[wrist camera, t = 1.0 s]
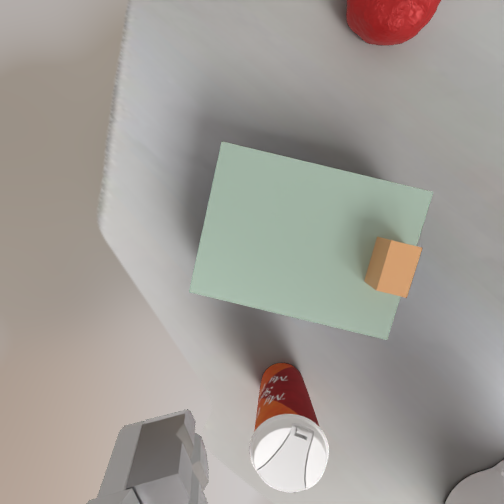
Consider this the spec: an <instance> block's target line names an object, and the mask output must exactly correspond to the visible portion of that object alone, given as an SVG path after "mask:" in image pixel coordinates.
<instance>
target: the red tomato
mask: <svg viewBox="0 0 504 504" xmlns="http://www.w3.org/2000/svg"><path fill="white" fill-rule="evenodd" d="M440 1H441V0H347V14H346V16H347V23H348V26H349V27H350V29H351V30H352V31H353V32H355V33H356V34H357V35H359V36H360V37H361V38H362V40H364V41H365V42H366V43H369V44H376V45H394V44H401V43H403V42H405V41H407V40H409V39H411V38H413V37H414V36H415V35H417V34H418V32H419V31H420V30H421V29H422V28H423V27H424V26H425V25H426V24H427V23H428V22H429V21H430V20H431V18H432V17H433V15H434V13H435V12H436V10H437V7H438V5H439V3H440Z"/></svg>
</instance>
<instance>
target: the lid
mask: <svg viewBox="0 0 504 504" xmlns="http://www.w3.org/2000/svg"><path fill="white" fill-rule="evenodd" d="M432 195H433V192H431V191H427V190H423V189H419V188H415V187H410V186H406V185H402V184H398V183H394V182H390V181H385V180H381V179H377V178H373V177H369V176H365V175H360V174H356V173H352V172H348V171H344V170H340V169H335V168H331V167H327V166H323V165H319V164H315V163H310V162H306V161H302V160H298V159H294V158H290V157H285V156H281V155H277V154H273V153H269V152H265V151H260V150H256V149H252V148H248V147H244V146H240V145H235V144H231V143H227V142H223V141H222V142H221V146H220V151H219V156H218V160H217V165H216V169H215V174H214V179H213V183H212V188H211V193H210V197H209V202H208V206H207V211H206V216H205V220H204V225H203V229H202V234H201V239H200V243H199V248H198V252H197V257H196V262H195V266H194V271H193V275H192V280H191V285H190V289H189V292H190V293H194V294H198V295H202V296H207V297H211V298H215V299H219V300H223V301H227V302H231V303H236V304H240V305H244V306H248V307H252V308H256V309H260V310H264V311H269V312H273V313H277V314H281V315H285V316H289V317H293V318H297V319H302V320H306V321H310V322H314V323H318V324H322V325H326V326H330V327H335V328H339V329H343V330H347V331H351V332H355V333H359V334H363V335H368V336H372V337H376V338H380V339H384V340H387V339H388V336H389V333H390V330H391V327H392V323H393V320H394V317H395V314H396V311H397V307H398V304H399V301H400V298H401V297H405V298H407V295H408V292H409V289H410V286H411V283H412V279H413V276H414V273H415V270H416V267H417V263H418V260H419V257H420V254H421V251H422V248H421V247H417V243H418V240H419V237H420V234H421V230H422V227H423V224H424V221H425V218H426V214H427V211H428V208H429V205H430V202H431V198H432Z"/></svg>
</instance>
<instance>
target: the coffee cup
mask: <svg viewBox="0 0 504 504" xmlns="http://www.w3.org/2000/svg"><path fill="white" fill-rule="evenodd" d="M249 454H250V459H251V462H252V465H253V466H254V468H255V470H256V471H257V473H258V474H259V476H260V477H261V479H262V480H263V481H264V482H265V483H266V484H267V485H268V486H270V487H272V488H274V489H276V490H279V491H282V492H298V491H303V490H306V489H309V488H310V487H312V486H314V485H315V484H316V483H317V482H318V481H319V480H320V478H321V477H322V475H323V473H324V471H325V468H326V464H327V461H328V457H329V445H328V441H327V438H326V436H325V434H324V432H323V431H322V429H321V428H320V427H319V424H318V421H317V418H316V415H315V412H314V409H313V406H312V403H311V400H310V397H309V394H308V392H307V389H306V386H305V383H304V380H303V378H302V376H301V374H300V372H299V371H298V370H297V369H296V368H295V367H294V366H292V365H290V364H287V363H277V364H274V365H272V366H270V367H269V368H268V369H267V370H266V371H265V372H264V374H263V376H262V380H261V386H260V392H259V400H258V407H257V415H256V423H255V431H254V433H253V435H252V438H251V441H250V446H249Z"/></svg>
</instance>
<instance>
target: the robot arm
mask: <svg viewBox="0 0 504 504" xmlns="http://www.w3.org/2000/svg"><path fill="white" fill-rule="evenodd" d="M208 470H209V469H208V461H207V454H206V449H205V445H204V442H203V440H202V437H201V436H200V435H198V434H196V433H195V420H194V418H193V415H192V413H191V411H190V410H188V409H187V410H183V411H179V412H175V413H171V414H167V415H163V416H159V417H155V418H151V419H147V420H146V421H141V422H137V423H134V424H129V425H125V426H124V427H123V428H122V429H121V430H120V432H119V434H118V437H117V440H116V443H115V446H114V449H113V452H112V455H111V458H110V461H109V464H108V467H107V470H106V473H105V476H104V479H103V482H102V484H101V487H100V490H99V494H98V496H97V498H96V499H92V500H89V502H88V503H87V504H208V502H207V499H206V497H205V494H204V492H203V490H204V489H205V487H206V485H207V484H208ZM445 504H504V460H502V461H501V462H500V463H498V464H497V465H496V466H494V467H493V468H490V469H488V470H484V471H481V472H478V473H475V474H473V475H471V476H469V477H467V478H465V479H464V480H462V481H461V482H460V483H459V484H458V485H457V486H456V487H455V488H454V489H453V490H452V491H451V493H450V494H449V496H448V498H447V500H446V503H445Z"/></svg>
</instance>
